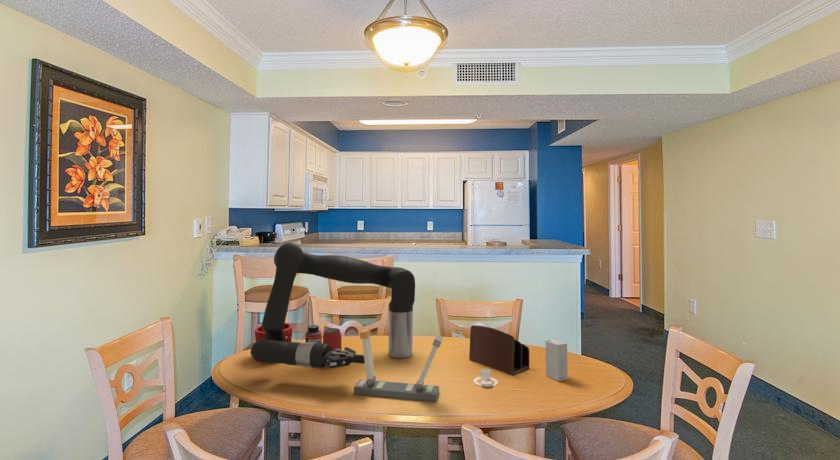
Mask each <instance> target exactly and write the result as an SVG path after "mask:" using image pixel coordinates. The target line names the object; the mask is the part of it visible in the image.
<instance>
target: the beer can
mask: <svg viewBox="0 0 840 460" xmlns="http://www.w3.org/2000/svg"><path fill="white" fill-rule="evenodd" d="M322 343H324V344H330V346H331V348H332V349H333V350H335V349H341V350H342V333H341V329H340V328H335V327H331V328H326V329H325V330H324V332H323V334H322ZM328 367H330V365H329V366H328Z"/></svg>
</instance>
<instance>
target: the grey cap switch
mask: <svg viewBox="0 0 840 460" xmlns="http://www.w3.org/2000/svg"><path fill="white" fill-rule="evenodd" d="M443 340H444V337H442V336H440V335H438V334H436V335H435V337H434V339H433V342H432V345H431V346H432V348H431V350H430V353H429V354H428V357H427V360H426V362H425V364H424V366H423V369H422V372H421V374H420V376H419V378H418V380H417V381H416V383H415V384H416V385H415V389H416V390H421V388H422V386H423V385H425V384H424V382H425V379H426V377H427V374H428V372H429V369H430V367H431V364H432V362H433V359H434V358H435V355H436V353H437V350H438V349H439V348H440V346H441V345H442V342H443Z"/></svg>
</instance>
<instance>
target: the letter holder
mask: <svg viewBox="0 0 840 460" xmlns="http://www.w3.org/2000/svg"><path fill="white" fill-rule="evenodd" d="M468 359H469V361H472V362H475V363H477V364H480V365H481V366H482V365H483V366H484V367H485V366H486V367H488V368H490V369H494V370H497V371H498V372H502V373H505V374H508V375H510V376H516V375H518V374H520V373H522V372H524V371H526V370H527V371H528V370H529V369H530V347H528V346H527V345H526V344H523V343H521V341H519V340H517V339H515V337H514V336H513V335H511V334H509V333H507V332H504V331H501V330H498V329H495V328H493V327H490V326H489V327H488V326H484V325H476V324H475V325H471V326H470V335H469V356H468Z"/></svg>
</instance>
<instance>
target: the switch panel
mask: <svg viewBox="0 0 840 460" xmlns="http://www.w3.org/2000/svg"><path fill="white" fill-rule="evenodd" d="M366 381H367V379H359V381H358V382H357V383H356V384H355V385H354V387H353V395H359V396H360V395H361V396H369V397H370V396H371V397H379V398H391V399H401V400H402V399H403V400H413V401H423V402H434V403H436V402H437V401H438V397H439V395H440V386H439V385H433V384H432V385H430V384H423V386H422V388H421V390H416V389H415V385H416V383H407V382H394V381H386V380H375V382H374V383H373V384H372V385H371V386H368V385H367V384H366Z"/></svg>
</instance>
